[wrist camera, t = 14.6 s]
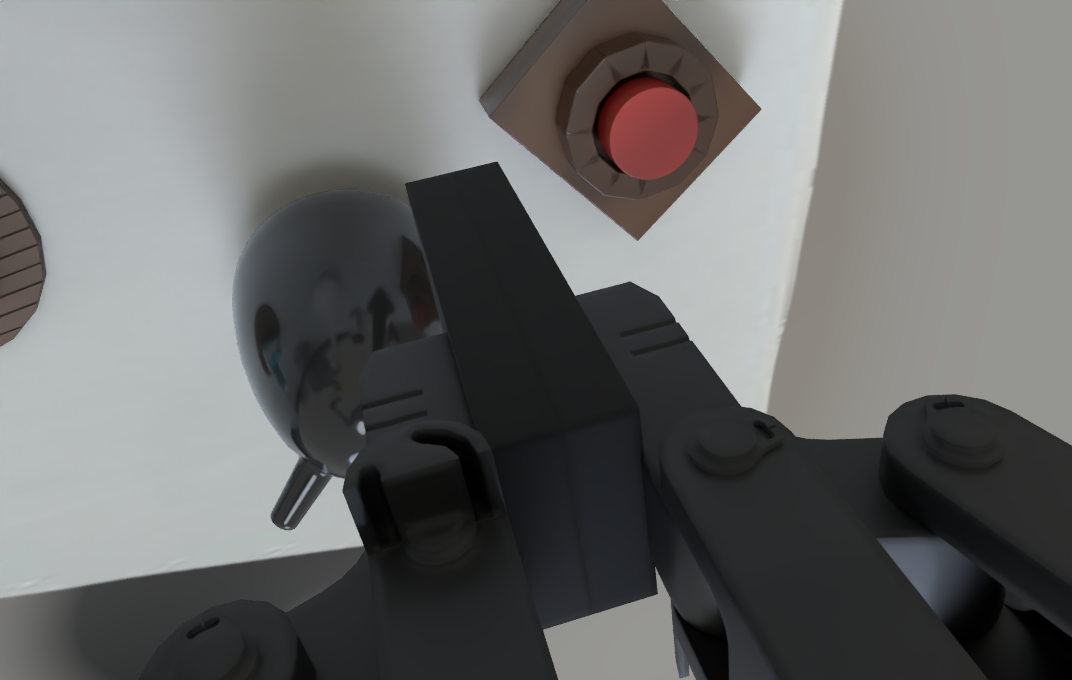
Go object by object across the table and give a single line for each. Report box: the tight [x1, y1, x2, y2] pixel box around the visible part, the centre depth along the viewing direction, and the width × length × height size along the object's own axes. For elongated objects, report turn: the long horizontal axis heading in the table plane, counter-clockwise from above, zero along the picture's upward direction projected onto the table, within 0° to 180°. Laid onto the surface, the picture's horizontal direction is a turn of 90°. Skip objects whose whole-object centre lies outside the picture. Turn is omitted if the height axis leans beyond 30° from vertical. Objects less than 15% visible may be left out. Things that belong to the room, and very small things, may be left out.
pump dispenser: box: [232, 190, 443, 530], centre depth 35 cm, size 10×10×15 cm
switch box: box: [479, 0, 761, 241], centre depth 38 cm, size 10×8×4 cm
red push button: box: [598, 77, 698, 179], centre depth 36 cm, size 4×4×2 cm
